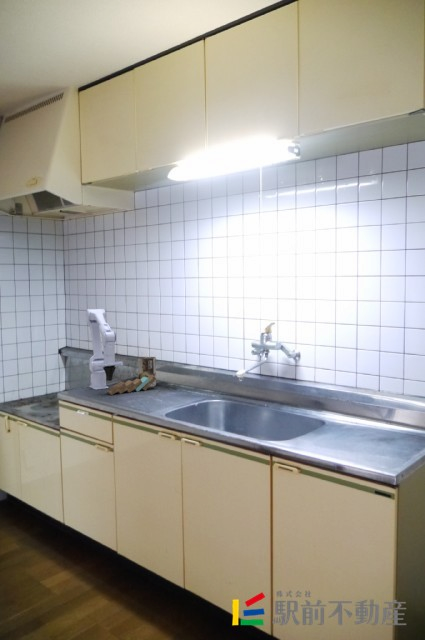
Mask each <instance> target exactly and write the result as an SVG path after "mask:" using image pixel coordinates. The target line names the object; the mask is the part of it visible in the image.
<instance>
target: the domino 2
mask: <svg viewBox="0 0 425 640" xmlns="http://www.w3.org/2000/svg"><path fill="white" fill-rule="evenodd" d="M133 381H134V380H129V379H128V380H127V381H126V382H124V383H125V385H126V387H124V388H122V389H121V390H119V391H118V392H116V393H117V394H118V395H122V394H123V393H125V392H126V390H127V389H129V388H130V387H132V386H133V385H134V383H133Z"/></svg>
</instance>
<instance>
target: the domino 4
mask: <svg viewBox="0 0 425 640" xmlns="http://www.w3.org/2000/svg"><path fill="white" fill-rule="evenodd" d="M141 381H142V384H140V385H139V386H138V387H136V388H135V389H134V390H133V391H135V392H136V393H137V392H139V391H140V390H142V389H141V388H143V387H144V386H145V385H146V384H147V383H148V382H149V381H150V380H149V379H148V378H147V377H143V378H142V379H141Z"/></svg>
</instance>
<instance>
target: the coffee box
mask: <svg viewBox="0 0 425 640" xmlns="http://www.w3.org/2000/svg"><path fill="white" fill-rule="evenodd" d="M156 361H157V360H156V356H140V357H138V358H137V365H138V366H137V368H138V369H137V372H138V373H137V375H138V376H137V377H138V378H137V379H140V380H141V379H142V378H143V377H148V376H149V375H153V376H155V378H156V379H155V381H154V382H153V383H152V384H151V385H150V386H149V387H148V388H151V387H155V386H156V385H157V375H156V374H157V362H156Z"/></svg>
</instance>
